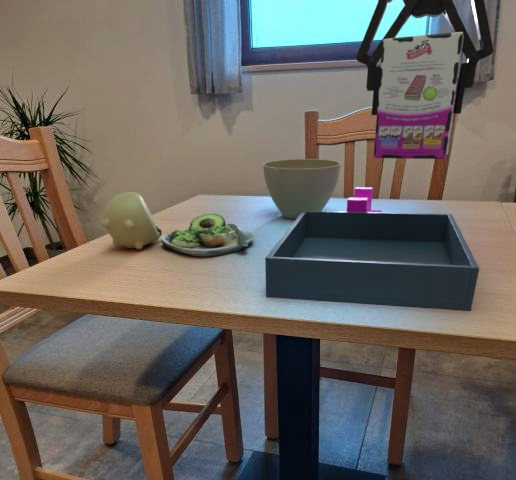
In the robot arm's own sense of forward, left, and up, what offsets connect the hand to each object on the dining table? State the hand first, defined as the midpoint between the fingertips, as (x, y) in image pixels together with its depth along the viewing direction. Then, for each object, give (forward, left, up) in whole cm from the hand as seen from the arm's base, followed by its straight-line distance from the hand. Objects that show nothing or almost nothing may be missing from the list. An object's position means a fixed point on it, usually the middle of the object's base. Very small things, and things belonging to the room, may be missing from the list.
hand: (414, 114), depth 72 cm
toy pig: (+51, +1, -23) cm, 56 cm away
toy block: (+7, -19, -23) cm, 30 cm away
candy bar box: (0, 0, -6) cm, 6 cm away
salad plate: (+37, -3, -23) cm, 43 cm away
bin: (+5, +7, -23) cm, 24 cm away
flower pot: (+23, -31, -23) cm, 45 cm away
